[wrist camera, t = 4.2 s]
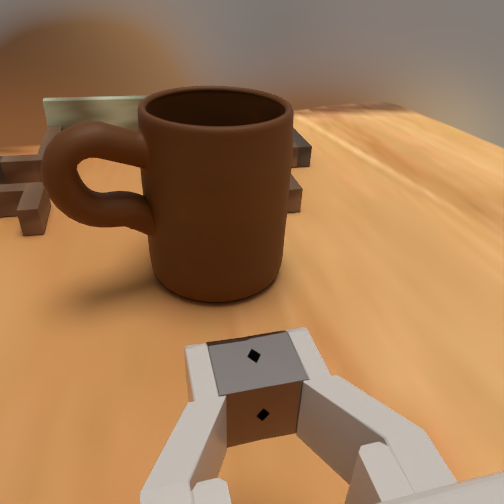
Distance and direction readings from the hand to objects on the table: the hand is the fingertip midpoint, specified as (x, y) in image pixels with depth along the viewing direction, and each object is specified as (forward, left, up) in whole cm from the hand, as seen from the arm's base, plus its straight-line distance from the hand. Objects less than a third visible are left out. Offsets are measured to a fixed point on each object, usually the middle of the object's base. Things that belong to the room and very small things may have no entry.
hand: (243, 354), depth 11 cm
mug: (0, +13, -7) cm, 15 cm away
